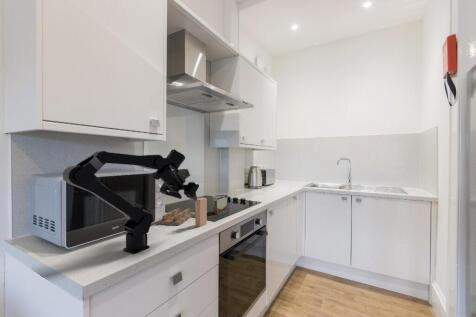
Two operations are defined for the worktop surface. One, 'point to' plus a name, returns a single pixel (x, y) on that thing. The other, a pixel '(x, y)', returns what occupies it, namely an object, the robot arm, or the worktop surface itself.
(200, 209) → the clay strip
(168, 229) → the worktop surface
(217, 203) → the food container
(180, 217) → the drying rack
